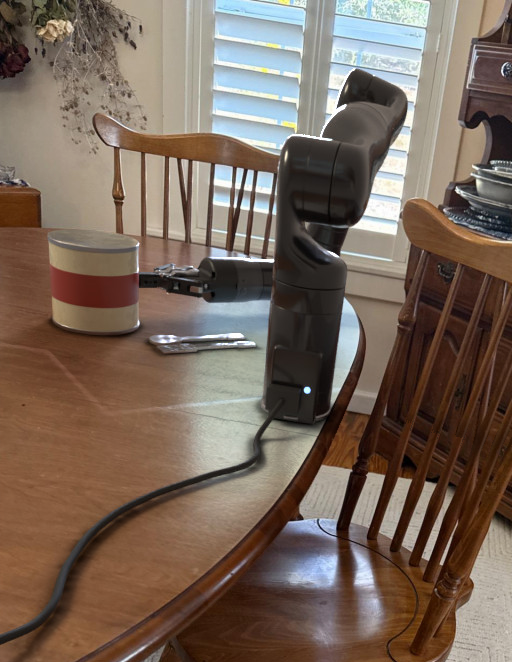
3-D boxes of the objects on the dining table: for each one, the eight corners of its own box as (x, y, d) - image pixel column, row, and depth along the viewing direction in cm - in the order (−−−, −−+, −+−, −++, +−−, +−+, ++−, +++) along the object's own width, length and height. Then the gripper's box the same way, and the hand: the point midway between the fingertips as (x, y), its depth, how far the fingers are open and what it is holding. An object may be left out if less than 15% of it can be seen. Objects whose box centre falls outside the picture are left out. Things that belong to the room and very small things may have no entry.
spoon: (236, 334, 130) (236, 331, 130) (247, 341, 127) (248, 338, 127) (145, 338, 121) (145, 335, 121) (155, 346, 118) (155, 343, 118)
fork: (249, 342, 127) (250, 339, 127) (257, 348, 125) (258, 345, 125) (156, 348, 118) (156, 345, 117) (163, 354, 116) (163, 350, 116)
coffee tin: (129, 339, 119) (129, 252, 113) (41, 328, 118) (35, 240, 111) (146, 317, 131) (146, 236, 124) (65, 306, 129) (61, 225, 123)
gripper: (214, 249, 137) (119, 246, 128) (249, 267, 129) (149, 266, 119) (212, 291, 141) (119, 292, 131) (246, 312, 132) (149, 315, 123)
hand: (134, 280), depth 125 cm, fingers closed
